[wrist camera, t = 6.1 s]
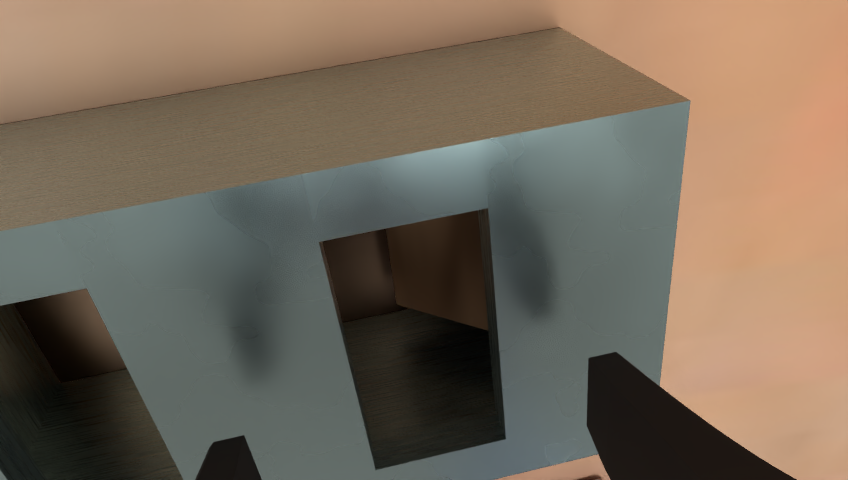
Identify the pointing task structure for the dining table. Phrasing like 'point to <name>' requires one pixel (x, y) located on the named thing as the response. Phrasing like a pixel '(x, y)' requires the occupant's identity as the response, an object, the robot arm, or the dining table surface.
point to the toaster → (309, 272)
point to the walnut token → (440, 268)
